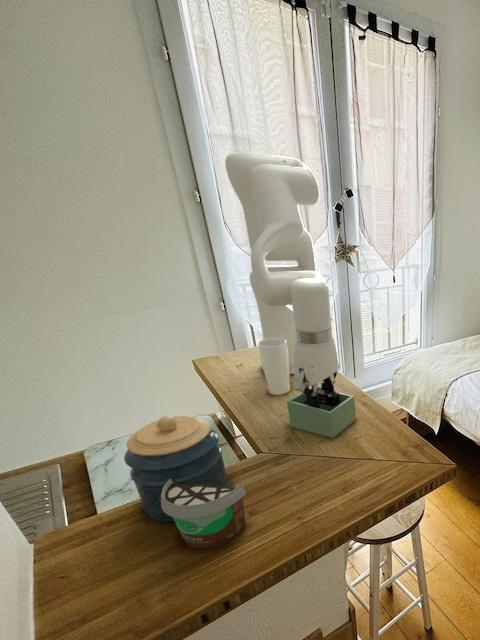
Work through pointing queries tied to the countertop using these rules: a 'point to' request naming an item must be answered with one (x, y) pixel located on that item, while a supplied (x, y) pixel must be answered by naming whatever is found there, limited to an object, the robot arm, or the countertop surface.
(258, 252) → the robot arm
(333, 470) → the countertop surface
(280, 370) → the drinking glass
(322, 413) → the bin
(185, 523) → the food container
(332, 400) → the wireless earbuds
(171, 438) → the canister
